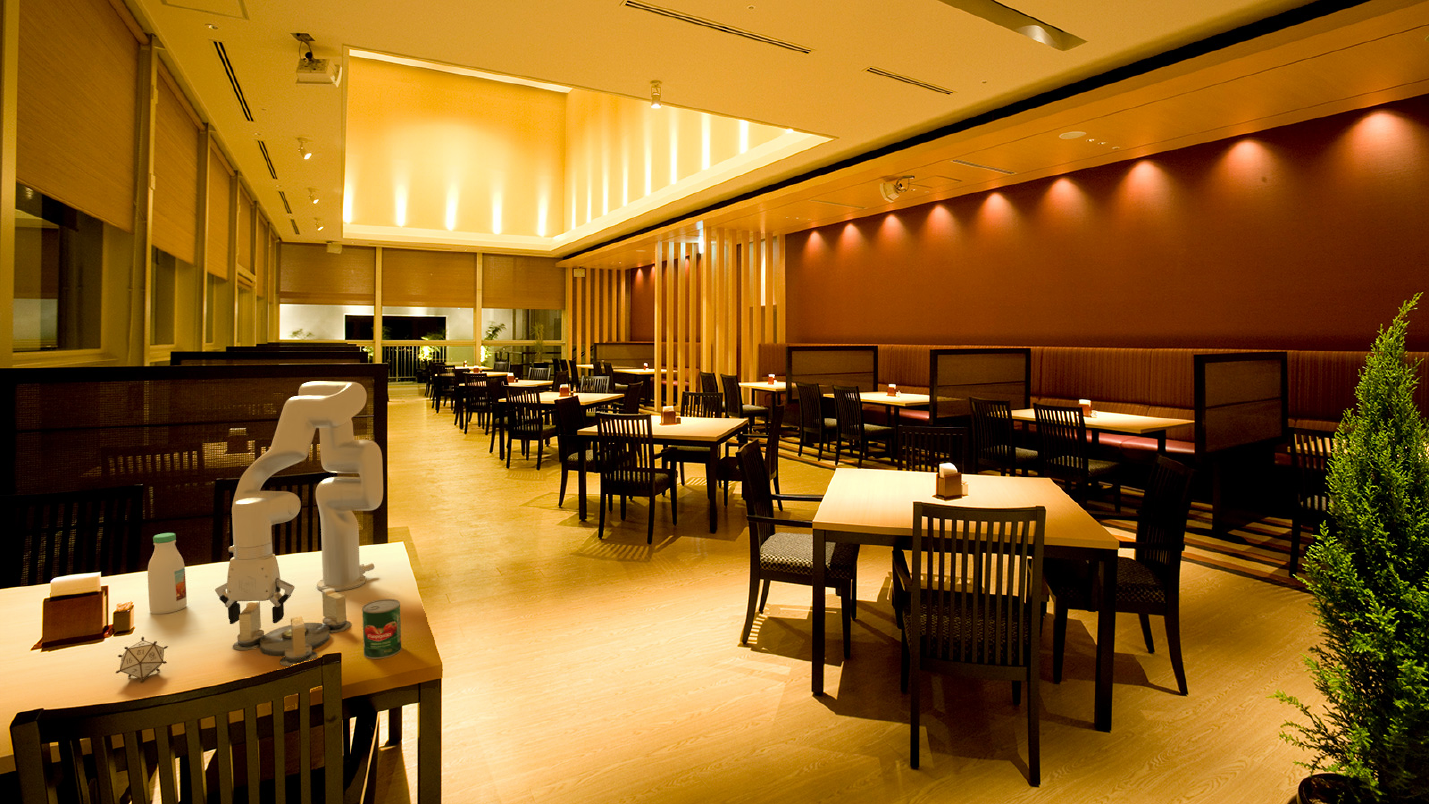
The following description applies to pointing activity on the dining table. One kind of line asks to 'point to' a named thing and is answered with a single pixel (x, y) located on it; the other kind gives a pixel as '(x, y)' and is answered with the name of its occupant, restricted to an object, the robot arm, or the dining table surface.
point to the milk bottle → (166, 576)
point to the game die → (142, 659)
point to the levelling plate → (281, 640)
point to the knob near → (334, 609)
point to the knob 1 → (250, 625)
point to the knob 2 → (298, 642)
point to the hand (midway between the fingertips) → (256, 621)
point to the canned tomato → (381, 628)
